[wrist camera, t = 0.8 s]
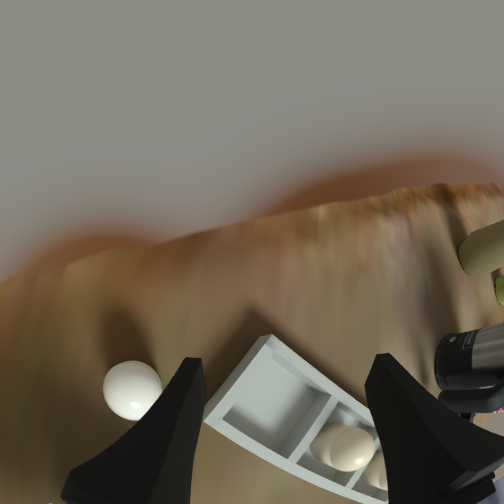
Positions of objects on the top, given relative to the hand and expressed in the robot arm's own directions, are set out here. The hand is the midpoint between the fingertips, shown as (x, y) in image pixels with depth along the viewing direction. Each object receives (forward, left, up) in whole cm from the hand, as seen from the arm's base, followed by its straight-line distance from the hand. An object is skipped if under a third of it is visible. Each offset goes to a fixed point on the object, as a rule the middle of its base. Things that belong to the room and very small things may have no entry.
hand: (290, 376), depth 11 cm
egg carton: (0, -14, -14) cm, 20 cm away
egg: (-6, +4, -14) cm, 16 cm away
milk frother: (+16, -32, -14) cm, 38 cm away
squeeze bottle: (+38, -26, -14) cm, 48 cm away
